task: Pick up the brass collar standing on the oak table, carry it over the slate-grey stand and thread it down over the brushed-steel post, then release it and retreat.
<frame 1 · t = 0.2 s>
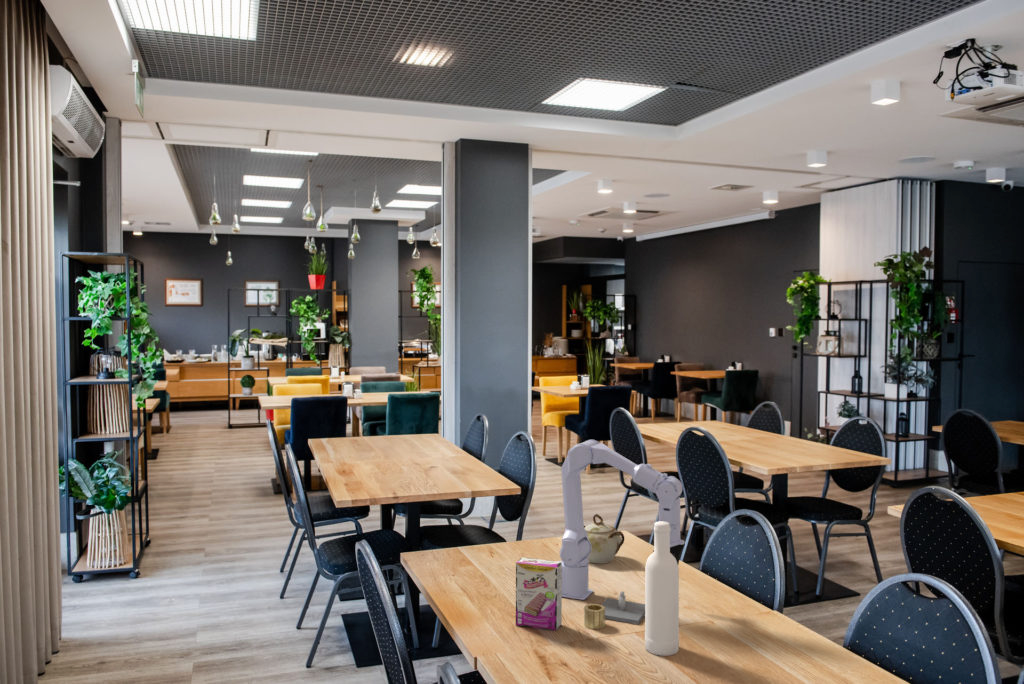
hand: (669, 573, 201), 10 cm above the table, fingers open, 7 cm apart
stand: (622, 612, 199), on the table
collar: (594, 625, 191), on the table
candy bar box: (538, 626, 191), on the table
bottle: (661, 649, 177), on the table
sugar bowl: (598, 560, 245), on the table
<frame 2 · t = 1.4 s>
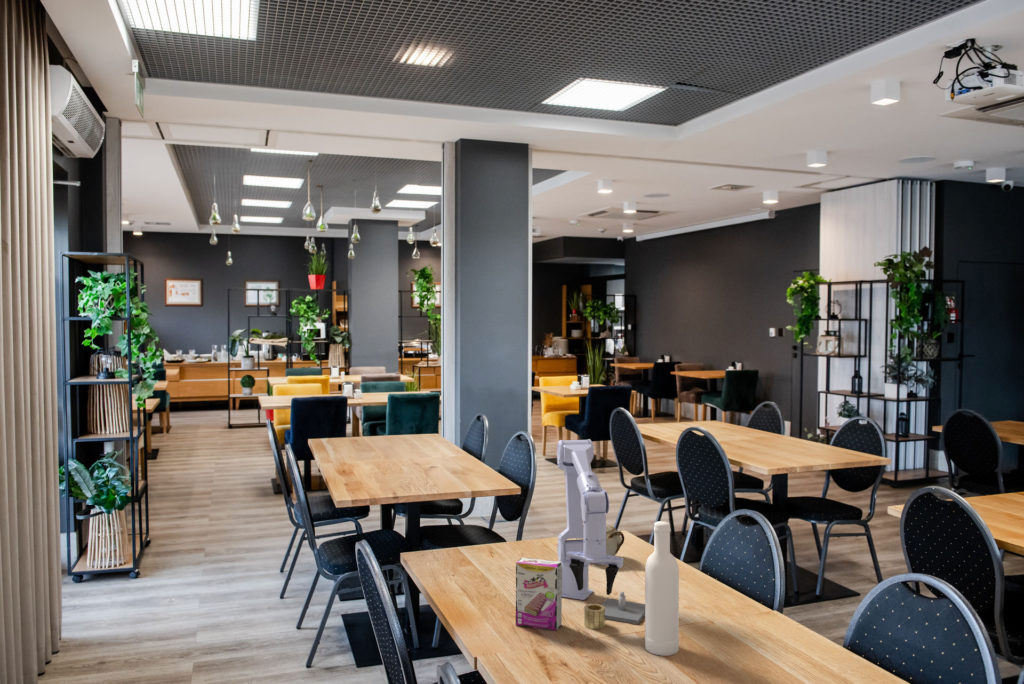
hand: (594, 591, 191), 9 cm above the table, fingers open, 7 cm apart
nothing on the table moved.
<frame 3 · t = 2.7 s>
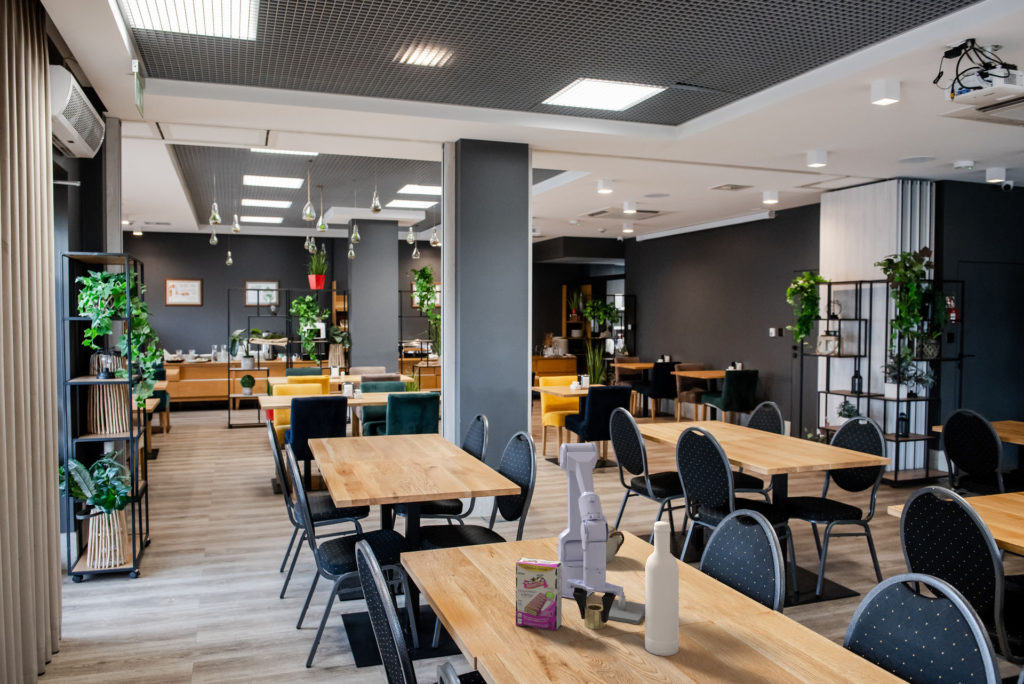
hand: (594, 619, 191), 1 cm above the table, fingers closed on collar, 5 cm apart
collar: (594, 625, 191), on the table, touching gripper
everything else where it was.
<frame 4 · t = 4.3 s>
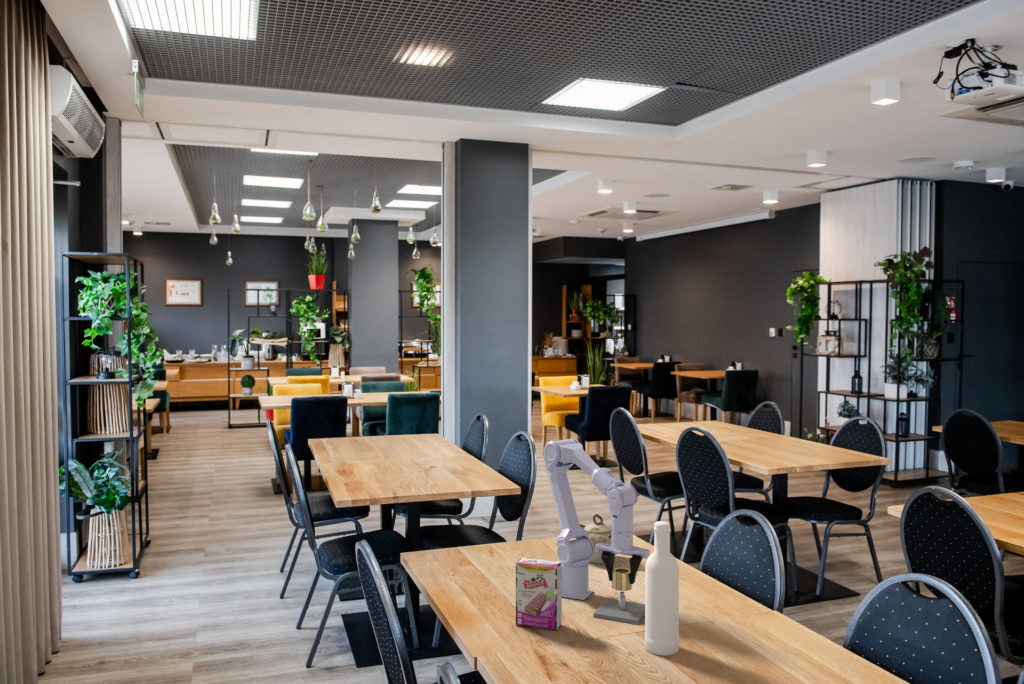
hand: (622, 581, 199), 8 cm above the table, fingers closed on collar, 5 cm apart
collar: (621, 587, 199), point 7 cm above the table, touching gripper
everything else where it was.
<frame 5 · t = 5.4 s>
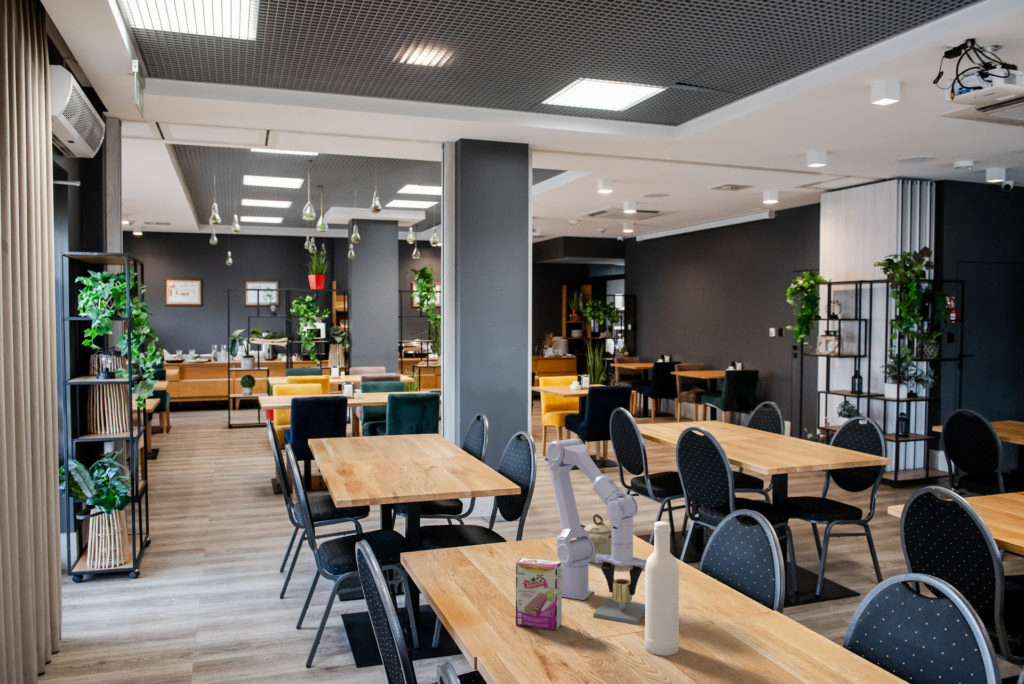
hand: (622, 592, 199), 5 cm above the table, fingers closed on collar, 5 cm apart
collar: (622, 598, 199), point 4 cm above the table, touching gripper
everything else where it was.
when the fingers open (3 cm above the table, at t = 6.4 s): collar stays where it is, resting on stand.
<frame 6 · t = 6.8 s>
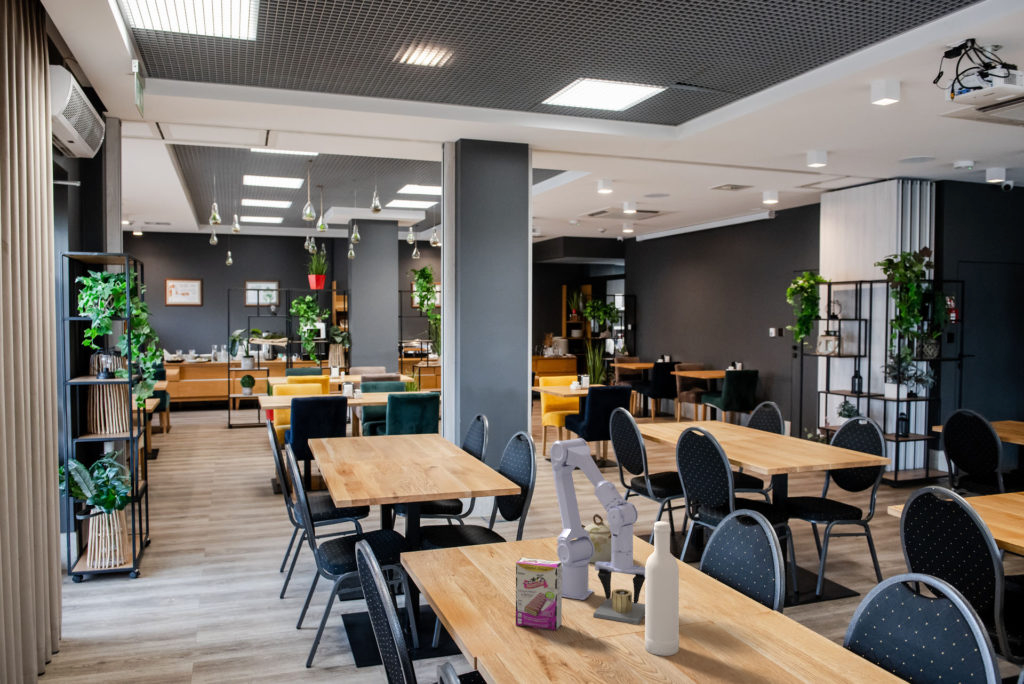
hand: (622, 600, 199), 3 cm above the table, fingers open, 7 cm apart
collar: (621, 609, 199), point 1 cm above the table, touching stand
everything else where it was.
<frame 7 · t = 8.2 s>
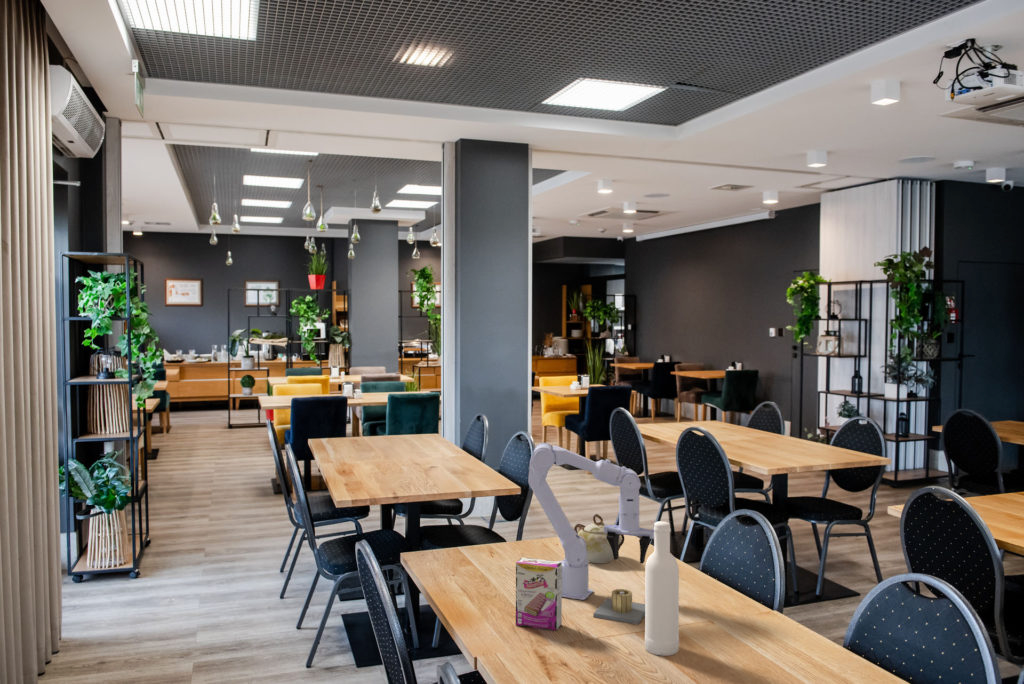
hand: (629, 560, 212), 10 cm above the table, fingers open, 7 cm apart
nothing on the table moved.
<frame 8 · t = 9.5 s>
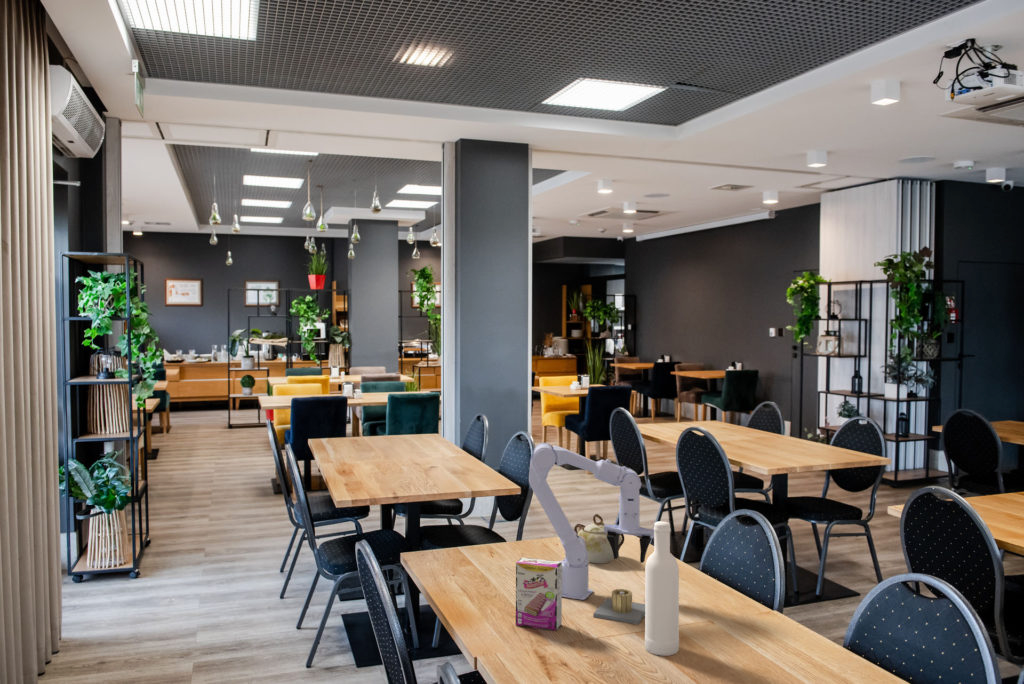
hand: (629, 560, 213), 10 cm above the table, fingers open, 7 cm apart
nothing on the table moved.
at the end: collar 0.2 cm off-centre on the stand, point 1.0 cm above the stand's base; the gripper is holding nothing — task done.
